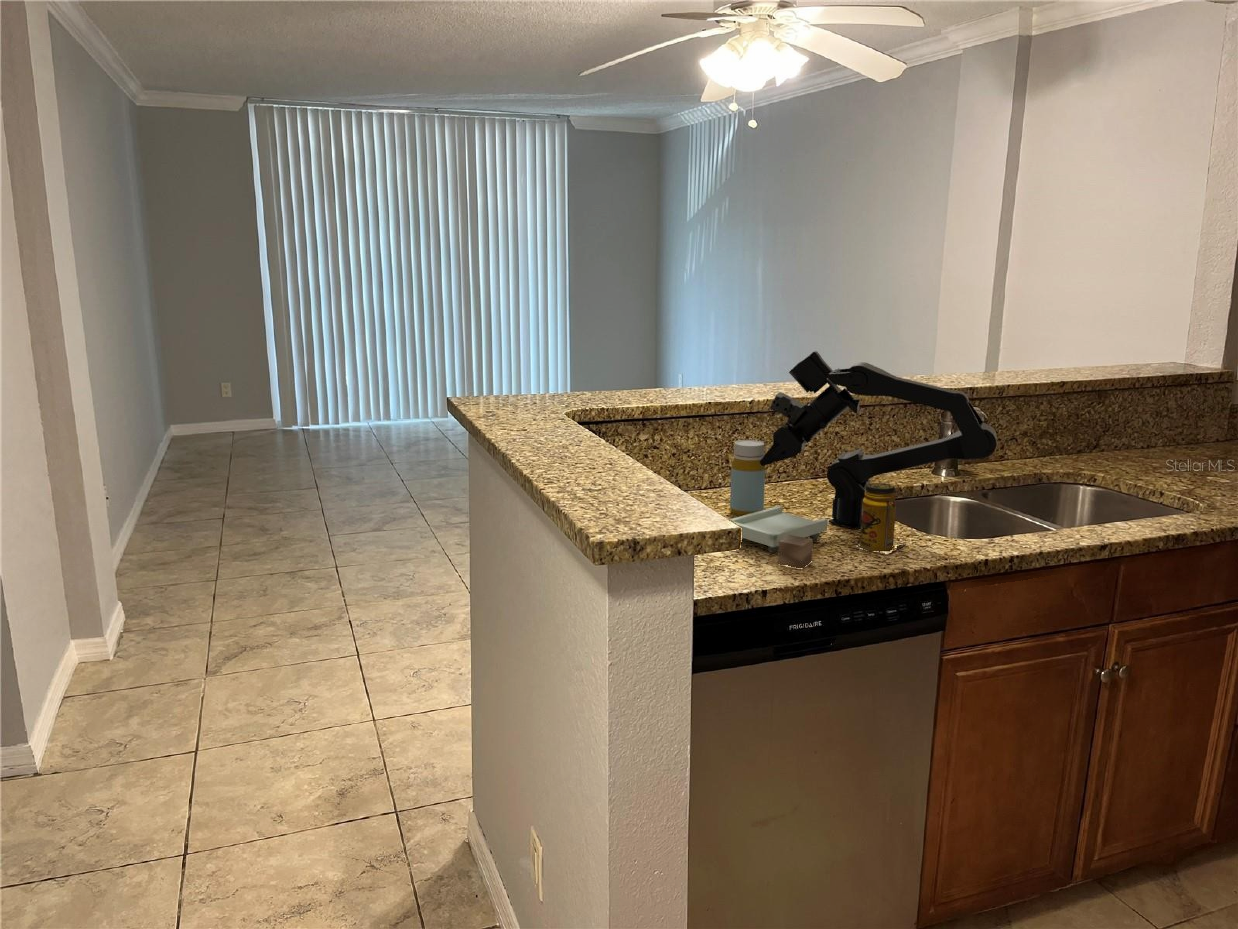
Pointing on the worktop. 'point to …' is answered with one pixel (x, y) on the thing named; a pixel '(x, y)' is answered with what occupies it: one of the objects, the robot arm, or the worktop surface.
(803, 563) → the walnut block
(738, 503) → the bottle
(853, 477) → the robot arm
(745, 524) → the tray
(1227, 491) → the worktop surface
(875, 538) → the condiment
